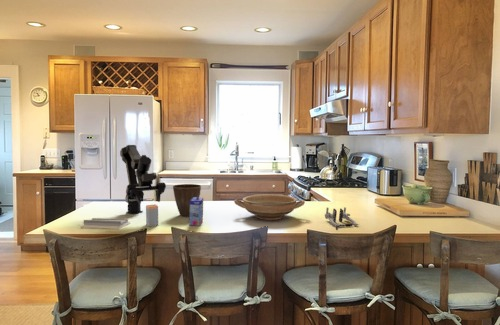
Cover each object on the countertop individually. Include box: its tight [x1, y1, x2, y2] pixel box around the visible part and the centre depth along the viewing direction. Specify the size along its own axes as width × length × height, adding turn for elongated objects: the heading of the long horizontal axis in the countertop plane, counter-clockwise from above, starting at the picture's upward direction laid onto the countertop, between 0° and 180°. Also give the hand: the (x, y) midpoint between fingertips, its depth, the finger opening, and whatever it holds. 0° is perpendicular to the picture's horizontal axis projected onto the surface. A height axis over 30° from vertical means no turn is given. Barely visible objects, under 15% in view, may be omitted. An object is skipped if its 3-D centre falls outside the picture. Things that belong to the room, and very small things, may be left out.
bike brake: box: [324, 206, 360, 231], centre depth 177 cm, size 14×7×20 cm
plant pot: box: [172, 183, 202, 217], centre depth 197 cm, size 15×15×16 cm
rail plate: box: [80, 217, 131, 230], centre depth 174 cm, size 11×19×3 cm, turn 82°
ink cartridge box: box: [189, 193, 204, 227], centre depth 178 cm, size 10×6×14 cm, turn 179°
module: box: [145, 204, 159, 227], centre depth 174 cm, size 4×4×10 cm
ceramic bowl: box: [233, 193, 305, 221], centre depth 192 cm, size 37×29×10 cm
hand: (149, 202), depth 177 cm, fingers open, 9 cm apart
